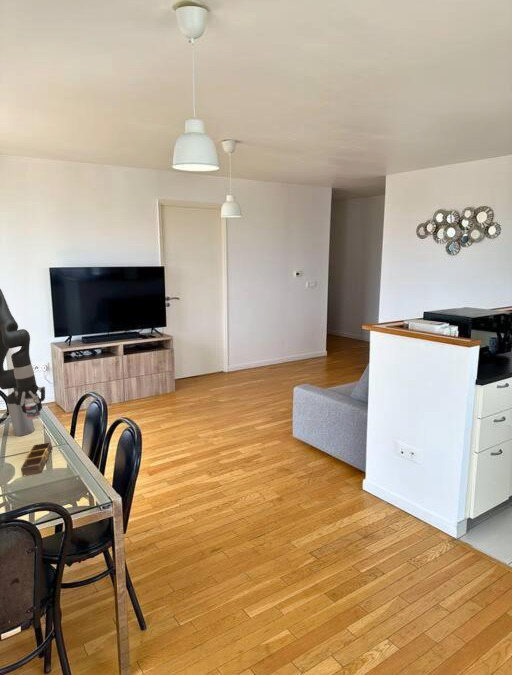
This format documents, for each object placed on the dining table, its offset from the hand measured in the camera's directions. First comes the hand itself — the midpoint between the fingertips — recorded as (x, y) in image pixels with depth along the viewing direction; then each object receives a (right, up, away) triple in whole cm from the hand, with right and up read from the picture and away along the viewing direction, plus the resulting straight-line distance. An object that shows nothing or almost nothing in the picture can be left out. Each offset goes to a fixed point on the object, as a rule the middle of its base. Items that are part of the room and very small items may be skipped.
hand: (32, 411), depth 206 cm
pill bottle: (0, -3, +1) cm, 3 cm away
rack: (+4, -21, -4) cm, 22 cm away
